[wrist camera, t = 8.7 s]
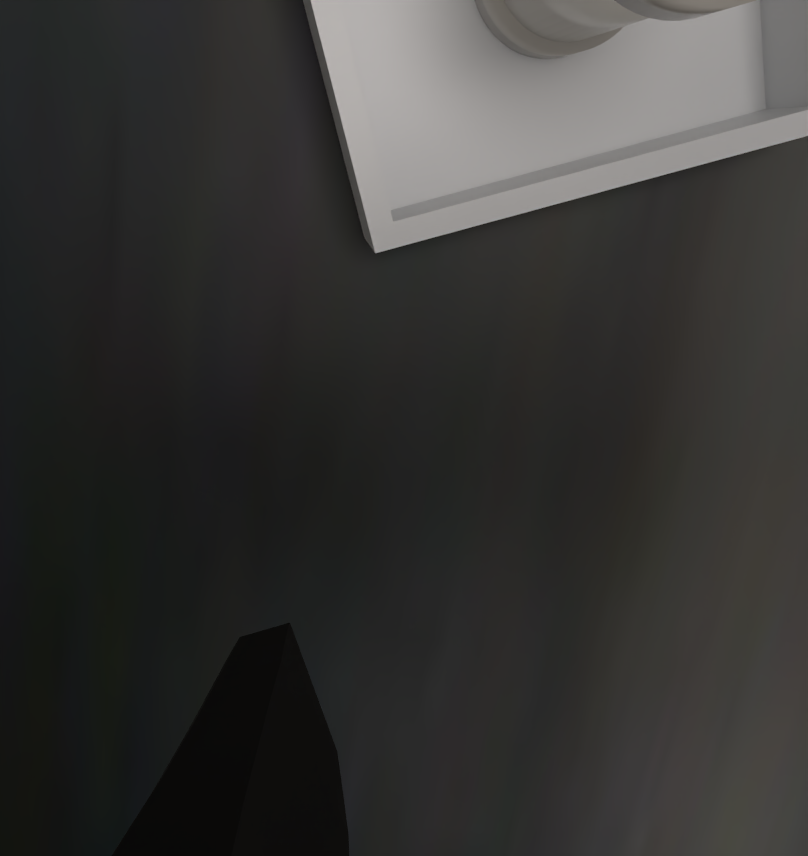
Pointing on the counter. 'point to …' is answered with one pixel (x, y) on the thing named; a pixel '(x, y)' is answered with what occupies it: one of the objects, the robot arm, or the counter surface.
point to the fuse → (580, 21)
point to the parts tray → (542, 107)
